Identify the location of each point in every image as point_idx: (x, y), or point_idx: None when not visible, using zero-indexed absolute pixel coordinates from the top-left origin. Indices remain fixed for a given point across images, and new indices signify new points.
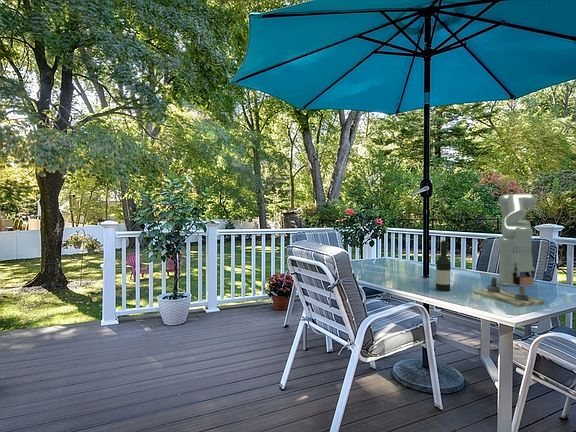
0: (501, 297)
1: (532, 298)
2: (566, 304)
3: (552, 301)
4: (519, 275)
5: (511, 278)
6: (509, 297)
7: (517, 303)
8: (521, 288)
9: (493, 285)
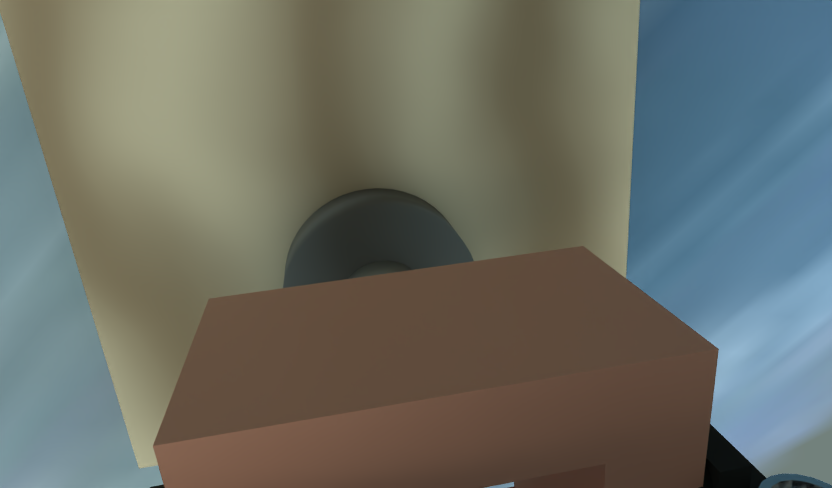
0: (107, 109)
1: None
2: (793, 405)
3: (790, 280)
4: (565, 416)
5: (181, 383)
6: (264, 138)
7: (135, 451)
8: None
9: None
